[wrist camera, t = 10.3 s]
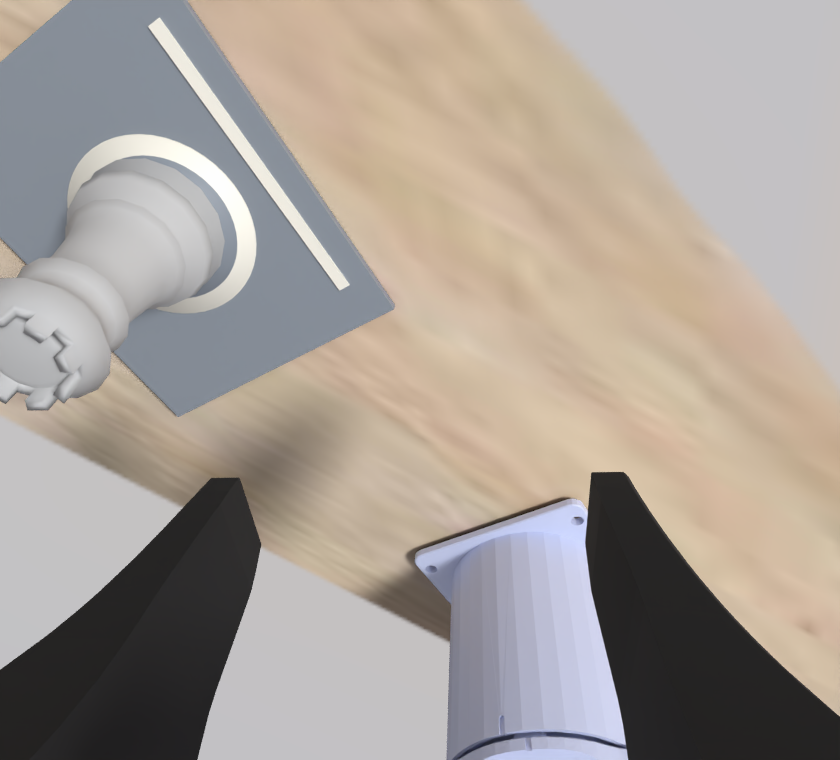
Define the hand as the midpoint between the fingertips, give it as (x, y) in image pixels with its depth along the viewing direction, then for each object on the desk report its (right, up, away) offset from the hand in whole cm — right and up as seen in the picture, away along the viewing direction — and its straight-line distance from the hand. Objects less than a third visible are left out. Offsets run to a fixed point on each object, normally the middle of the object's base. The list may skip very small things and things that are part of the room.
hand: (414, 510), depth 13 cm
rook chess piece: (-8, +8, +7) cm, 13 cm away
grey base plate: (-8, +8, +8) cm, 14 cm away
